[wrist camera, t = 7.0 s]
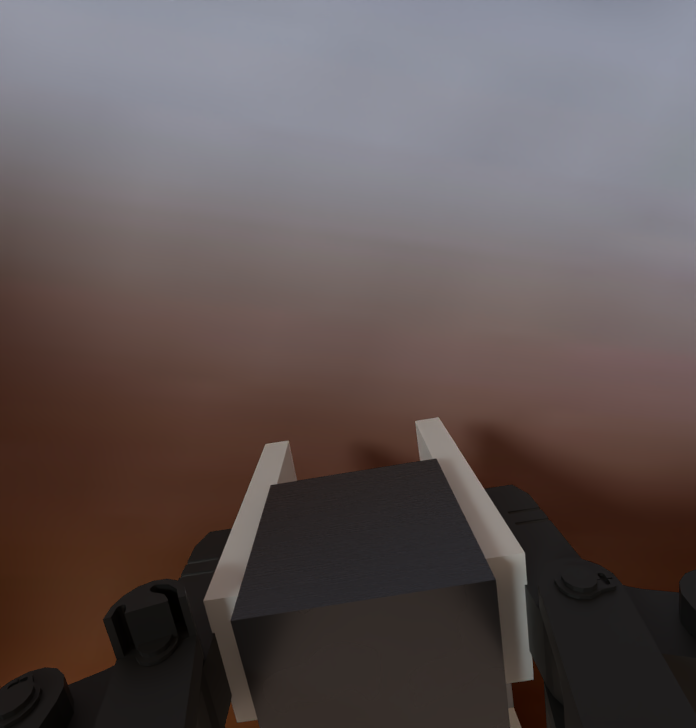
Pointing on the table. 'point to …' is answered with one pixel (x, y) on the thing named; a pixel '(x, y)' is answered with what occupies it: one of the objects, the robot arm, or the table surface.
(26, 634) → the table surface
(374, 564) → the shaft
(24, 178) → the table surface
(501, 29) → the table surface
